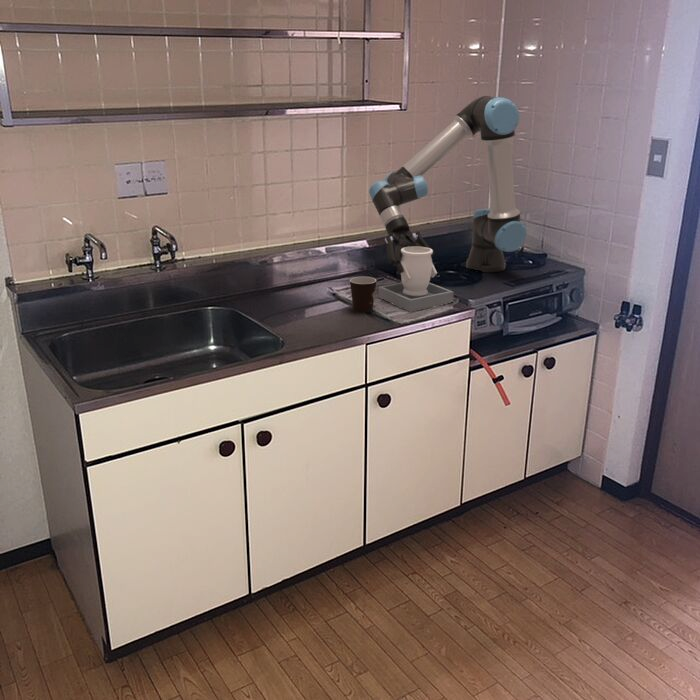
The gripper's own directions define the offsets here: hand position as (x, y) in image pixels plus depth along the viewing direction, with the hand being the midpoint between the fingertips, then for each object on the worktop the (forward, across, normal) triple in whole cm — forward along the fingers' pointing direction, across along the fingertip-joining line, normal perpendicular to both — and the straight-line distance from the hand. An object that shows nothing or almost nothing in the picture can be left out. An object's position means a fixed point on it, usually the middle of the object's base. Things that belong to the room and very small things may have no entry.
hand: (421, 277), depth 255 cm
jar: (+2, 0, -7) cm, 7 cm away
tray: (+4, 0, -8) cm, 9 cm away
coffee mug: (+3, +19, -10) cm, 22 cm away
